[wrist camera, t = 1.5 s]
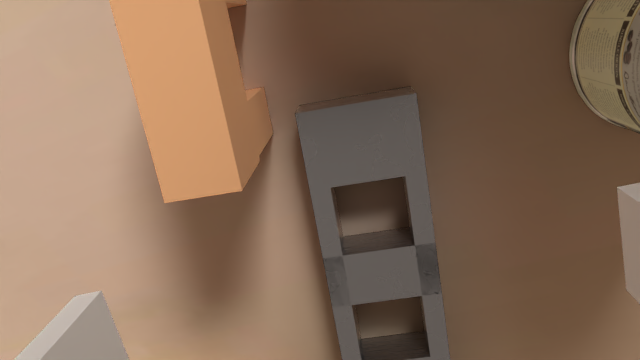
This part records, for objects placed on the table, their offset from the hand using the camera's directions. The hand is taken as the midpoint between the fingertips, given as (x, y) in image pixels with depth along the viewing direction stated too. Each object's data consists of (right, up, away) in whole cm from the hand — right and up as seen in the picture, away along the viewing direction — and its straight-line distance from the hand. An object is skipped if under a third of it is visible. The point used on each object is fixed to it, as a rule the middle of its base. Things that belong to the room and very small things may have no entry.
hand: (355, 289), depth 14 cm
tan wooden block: (-6, +11, +20) cm, 23 cm away
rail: (+3, -2, +23) cm, 24 cm away
